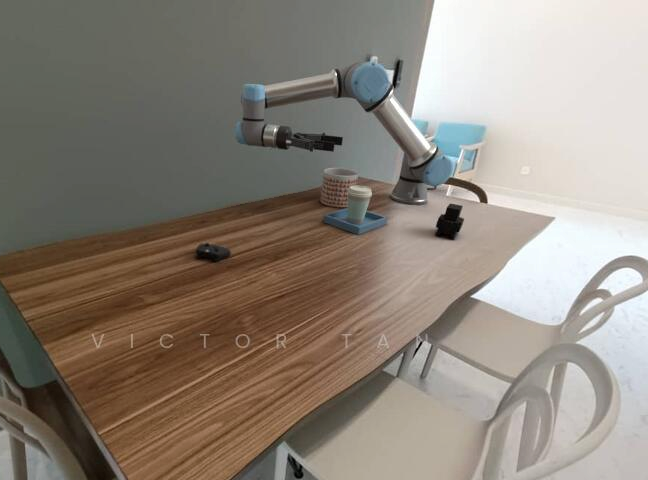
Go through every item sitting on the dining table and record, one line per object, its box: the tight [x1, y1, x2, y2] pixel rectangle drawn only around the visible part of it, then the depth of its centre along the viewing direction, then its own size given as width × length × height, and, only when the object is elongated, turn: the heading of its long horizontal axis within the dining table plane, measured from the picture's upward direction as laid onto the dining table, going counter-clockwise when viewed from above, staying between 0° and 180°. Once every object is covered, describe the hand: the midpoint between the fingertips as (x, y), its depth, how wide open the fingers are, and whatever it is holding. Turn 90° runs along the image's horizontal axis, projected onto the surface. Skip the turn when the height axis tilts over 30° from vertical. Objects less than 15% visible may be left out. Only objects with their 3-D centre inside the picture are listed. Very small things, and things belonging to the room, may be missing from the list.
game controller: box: [195, 242, 232, 262], centre depth 110 cm, size 10×5×6 cm
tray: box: [322, 208, 388, 236], centre depth 142 cm, size 18×16×3 cm
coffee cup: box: [347, 184, 373, 224], centre depth 139 cm, size 8×8×12 cm
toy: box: [435, 203, 465, 241], centre depth 137 cm, size 8×14×10 cm, turn 149°
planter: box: [319, 167, 359, 209], centre depth 159 cm, size 14×14×13 cm
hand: (338, 144), depth 132 cm, fingers open, 13 cm apart
